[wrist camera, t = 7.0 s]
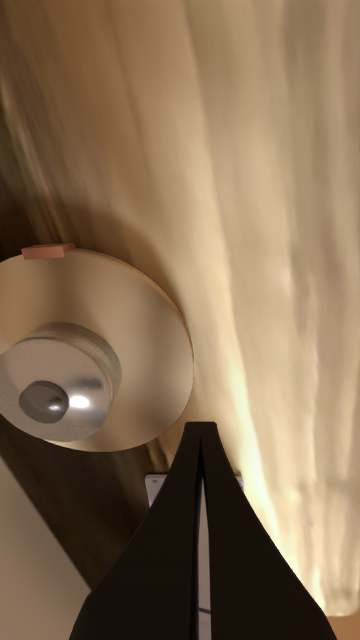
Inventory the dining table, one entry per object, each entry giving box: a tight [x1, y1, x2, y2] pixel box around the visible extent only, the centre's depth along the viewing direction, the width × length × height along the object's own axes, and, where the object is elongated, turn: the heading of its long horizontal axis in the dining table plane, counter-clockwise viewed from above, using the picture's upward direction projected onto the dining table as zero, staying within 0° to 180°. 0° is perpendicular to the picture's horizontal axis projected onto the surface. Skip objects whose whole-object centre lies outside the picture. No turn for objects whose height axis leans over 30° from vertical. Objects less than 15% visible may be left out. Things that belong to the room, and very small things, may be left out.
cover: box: [0, 322, 122, 442], centre depth 16 cm, size 7×7×4 cm
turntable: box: [0, 243, 194, 452], centre depth 18 cm, size 16×16×2 cm
